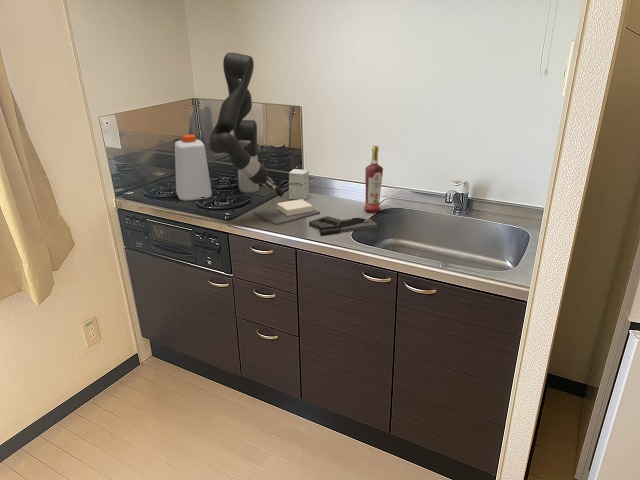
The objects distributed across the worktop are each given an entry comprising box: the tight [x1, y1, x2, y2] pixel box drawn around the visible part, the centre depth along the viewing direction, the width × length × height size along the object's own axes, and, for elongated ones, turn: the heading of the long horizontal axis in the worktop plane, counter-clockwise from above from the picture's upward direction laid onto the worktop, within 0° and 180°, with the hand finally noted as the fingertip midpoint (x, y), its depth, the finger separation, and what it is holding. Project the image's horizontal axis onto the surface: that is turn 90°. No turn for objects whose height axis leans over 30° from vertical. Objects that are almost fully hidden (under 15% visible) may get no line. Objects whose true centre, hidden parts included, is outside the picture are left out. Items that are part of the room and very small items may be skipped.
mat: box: [252, 205, 321, 226], centre depth 214 cm, size 18×22×1 cm
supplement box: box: [288, 168, 310, 201], centre depth 231 cm, size 7×7×13 cm
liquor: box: [363, 145, 384, 214], centre depth 212 cm, size 7×7×28 cm
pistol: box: [308, 215, 379, 237], centre depth 201 cm, size 2×26×15 cm
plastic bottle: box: [174, 134, 213, 202], centre depth 230 cm, size 15×15×28 cm
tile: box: [276, 199, 314, 216], centre depth 214 cm, size 10×3×12 cm
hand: (281, 195), depth 209 cm, fingers closed
